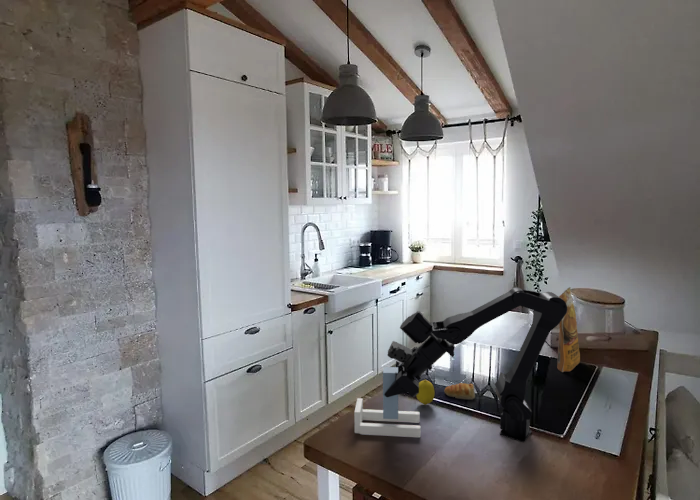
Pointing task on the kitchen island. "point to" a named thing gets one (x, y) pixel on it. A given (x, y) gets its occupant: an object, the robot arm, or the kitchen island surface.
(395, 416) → the blue gray block
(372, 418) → the track
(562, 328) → the pancake mix bag
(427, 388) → the lemon
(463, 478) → the kitchen island surface
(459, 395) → the pastry
